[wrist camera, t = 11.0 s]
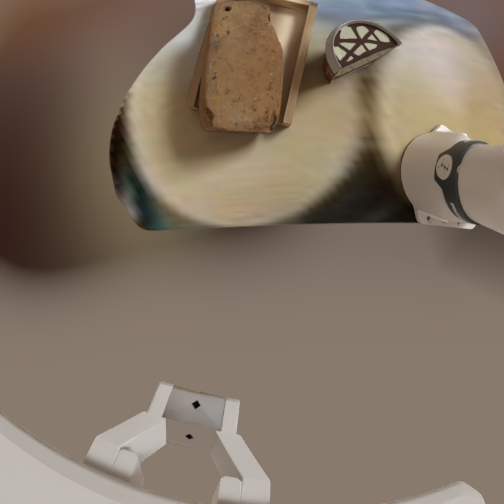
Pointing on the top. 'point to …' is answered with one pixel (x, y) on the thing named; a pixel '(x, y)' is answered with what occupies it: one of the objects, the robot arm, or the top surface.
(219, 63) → the block
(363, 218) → the top surface
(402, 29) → the top surface
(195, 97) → the wooden tray
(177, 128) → the top surface
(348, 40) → the food container
